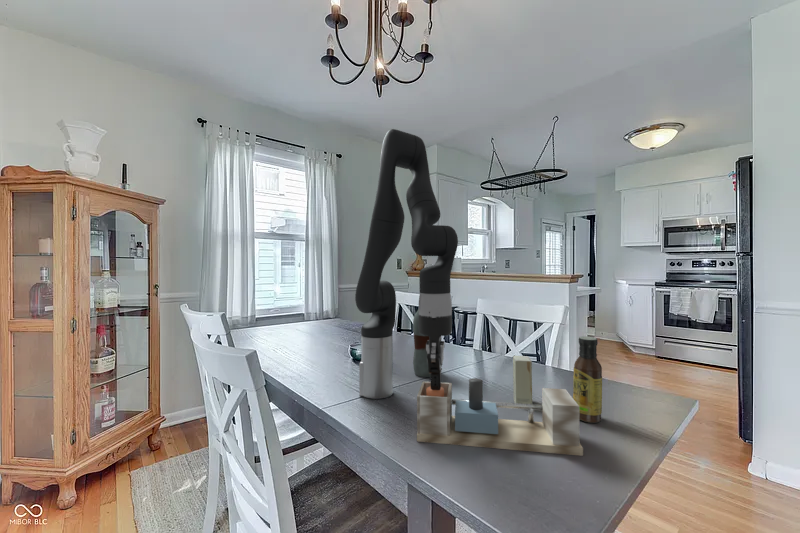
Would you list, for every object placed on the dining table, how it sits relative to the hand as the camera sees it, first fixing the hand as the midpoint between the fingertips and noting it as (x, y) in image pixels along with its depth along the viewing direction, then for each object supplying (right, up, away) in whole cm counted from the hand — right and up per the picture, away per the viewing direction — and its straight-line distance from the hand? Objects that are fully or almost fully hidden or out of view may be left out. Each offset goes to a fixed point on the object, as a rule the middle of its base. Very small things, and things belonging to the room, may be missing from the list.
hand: (435, 389), depth 81 cm
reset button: (0, -4, 0) cm, 4 cm away
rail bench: (+13, -10, -2) cm, 16 cm away
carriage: (+9, -8, -2) cm, 12 cm away
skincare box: (+25, -10, +17) cm, 32 cm away
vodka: (+1, -10, +44) cm, 45 cm away
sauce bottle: (+38, -10, +6) cm, 39 cm away
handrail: (+14, -8, +2) cm, 17 cm away
